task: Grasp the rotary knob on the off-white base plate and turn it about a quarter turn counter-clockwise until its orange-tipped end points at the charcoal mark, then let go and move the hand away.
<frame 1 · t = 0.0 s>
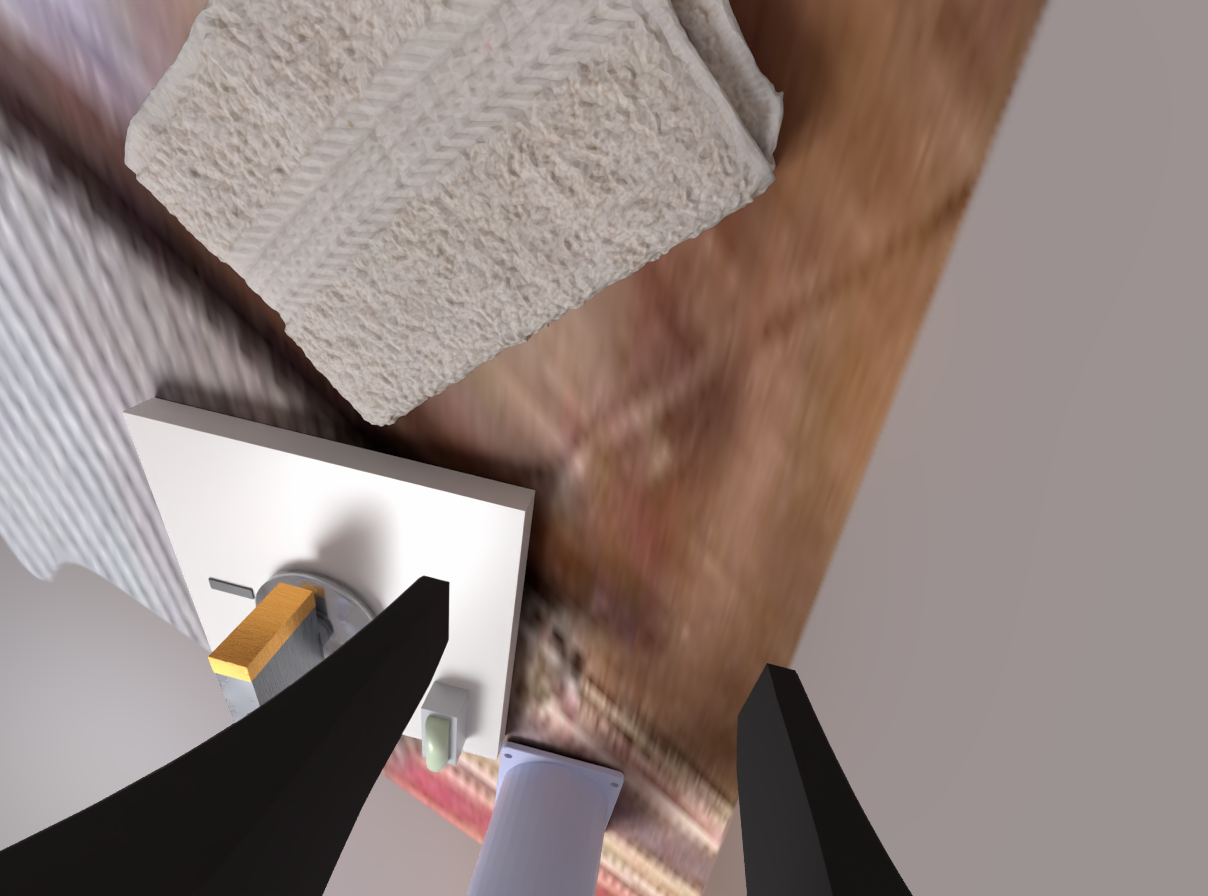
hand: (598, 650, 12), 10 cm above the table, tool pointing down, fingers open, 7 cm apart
base plate: (359, 595, 28), on the table
rotary knob: (286, 657, 24), point 4 cm above the table, hinge at 0.0°
washcloth: (460, 161, 17), on the table
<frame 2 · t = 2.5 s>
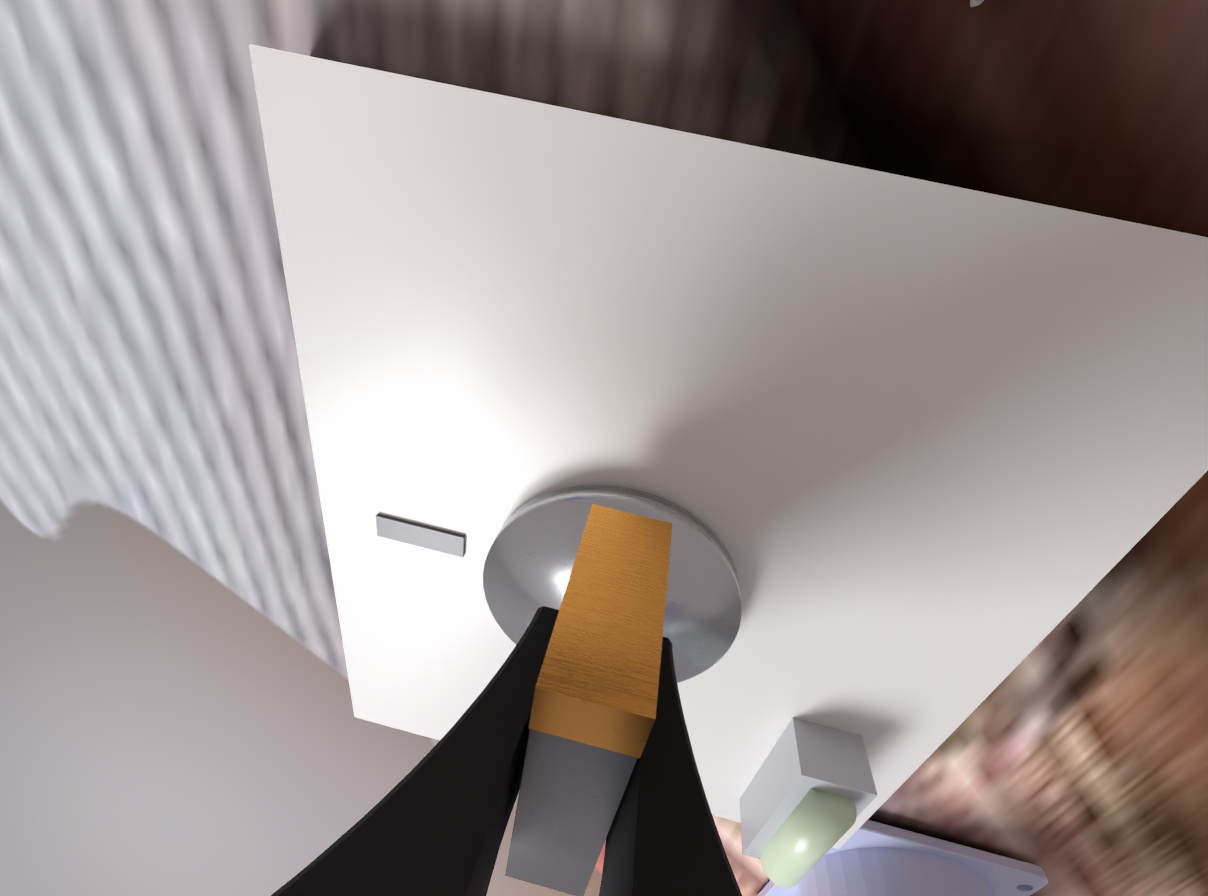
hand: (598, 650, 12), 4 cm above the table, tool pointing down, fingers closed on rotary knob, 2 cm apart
base plate: (654, 552, 15), on the table
rotary knob: (592, 676, 11), point 4 cm above the table, hinge at 0.0°, touching gripper
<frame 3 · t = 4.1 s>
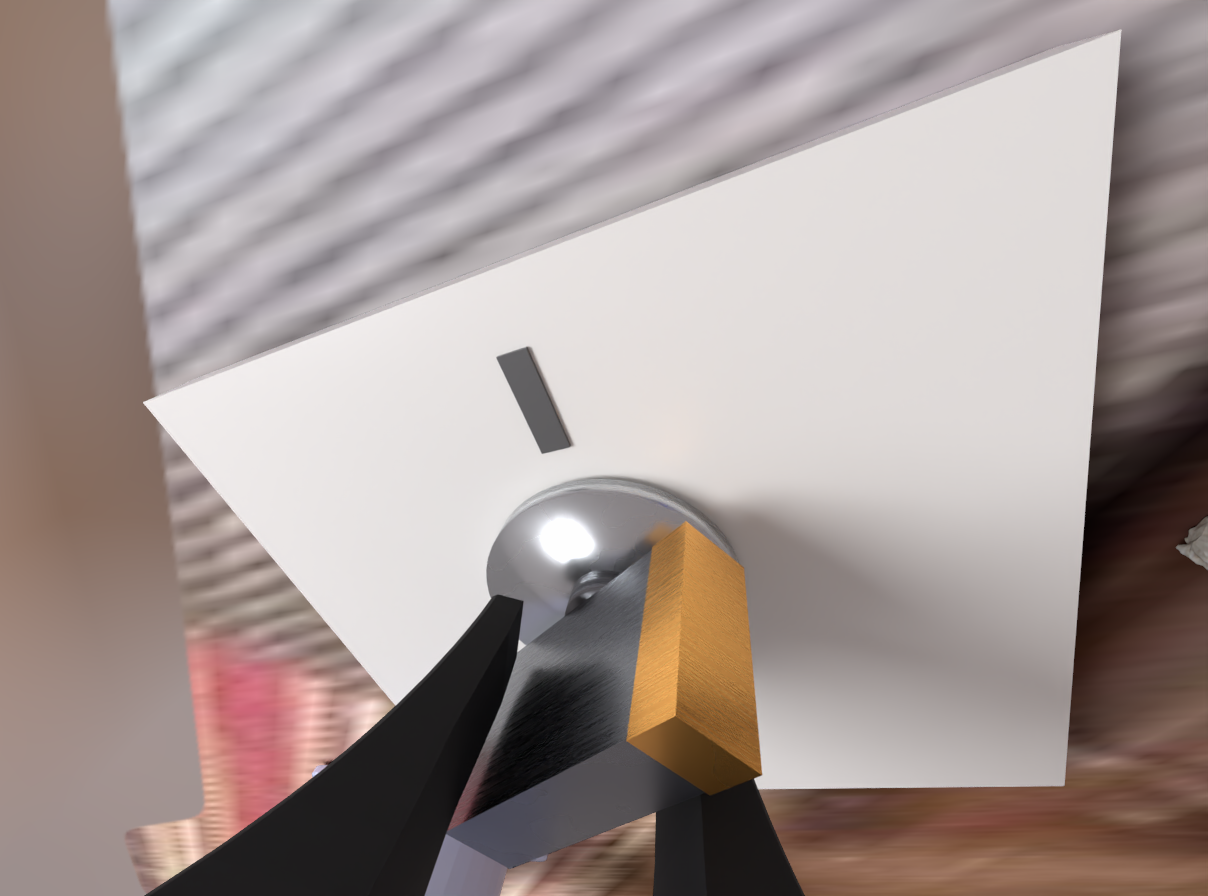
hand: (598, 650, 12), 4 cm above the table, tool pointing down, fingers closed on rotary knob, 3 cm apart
base plate: (634, 565, 15), on the table
rotary knob: (600, 671, 11), point 4 cm above the table, hinge at 30.3°, touching gripper
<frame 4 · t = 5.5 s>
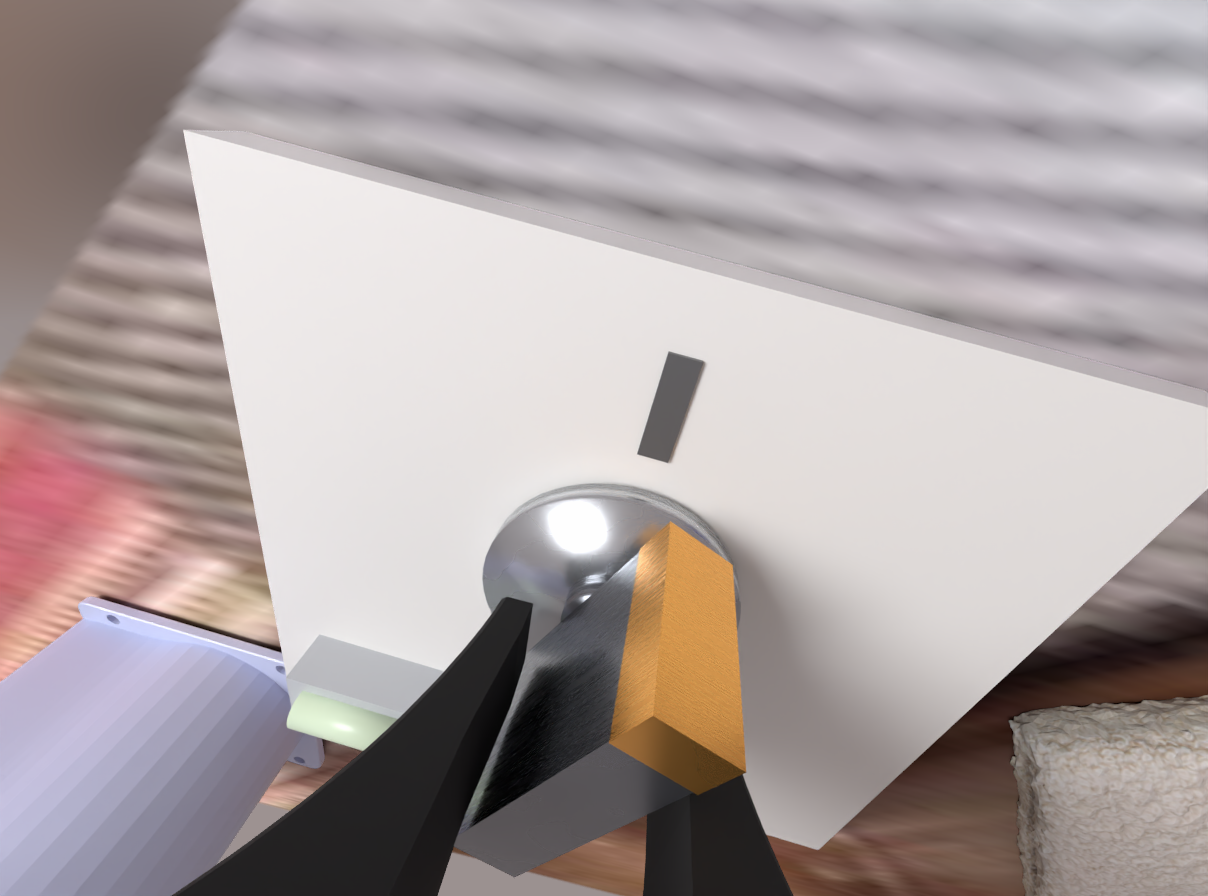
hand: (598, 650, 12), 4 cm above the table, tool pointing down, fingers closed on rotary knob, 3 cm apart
base plate: (612, 567, 15), on the table
rotary knob: (595, 676, 11), point 4 cm above the table, hinge at 66.9°, touching gripper
washcloth: (1198, 829, 18), on the table
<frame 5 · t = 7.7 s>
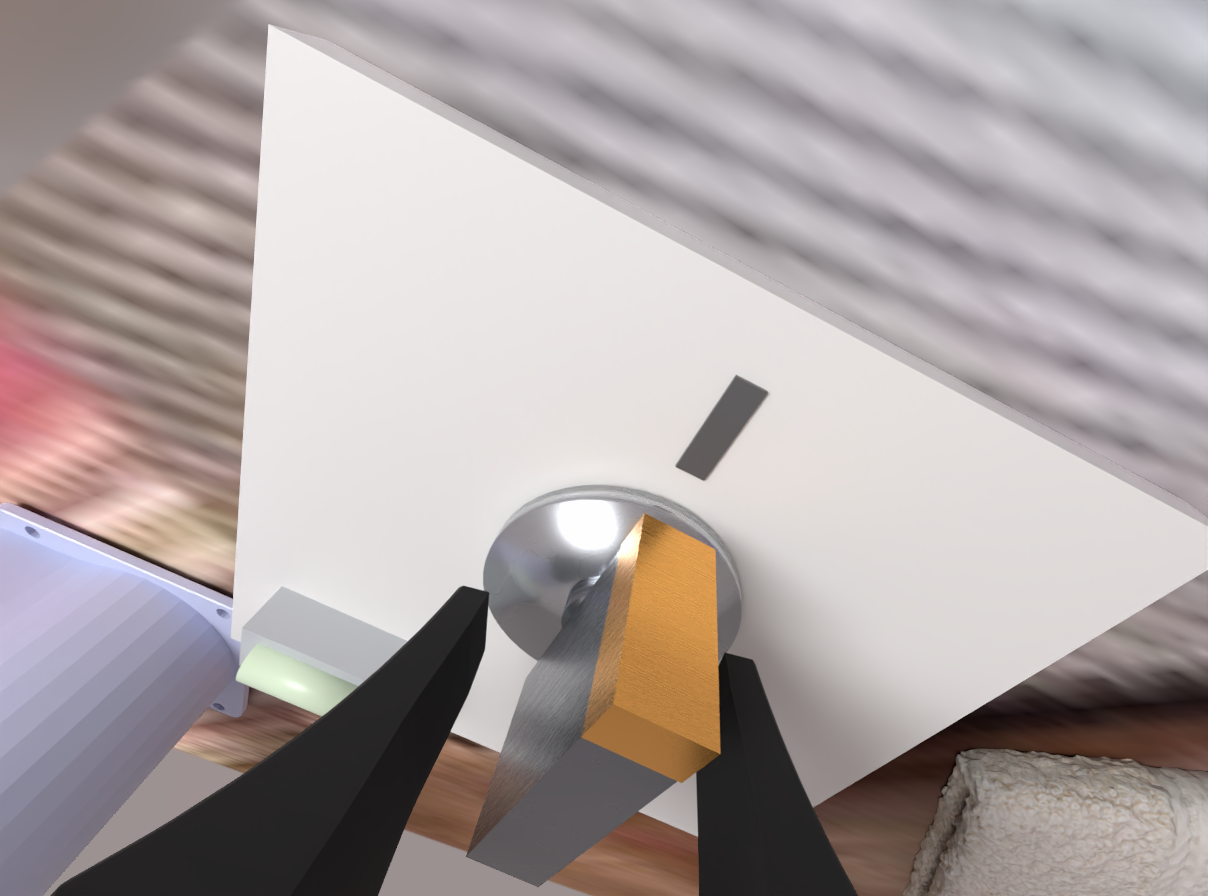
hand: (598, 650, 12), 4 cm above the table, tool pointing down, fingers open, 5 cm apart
base plate: (605, 566, 15), on the table
rotary knob: (594, 677, 11), point 4 cm above the table, hinge at 88.2°
washcloth: (1062, 866, 20), on the table
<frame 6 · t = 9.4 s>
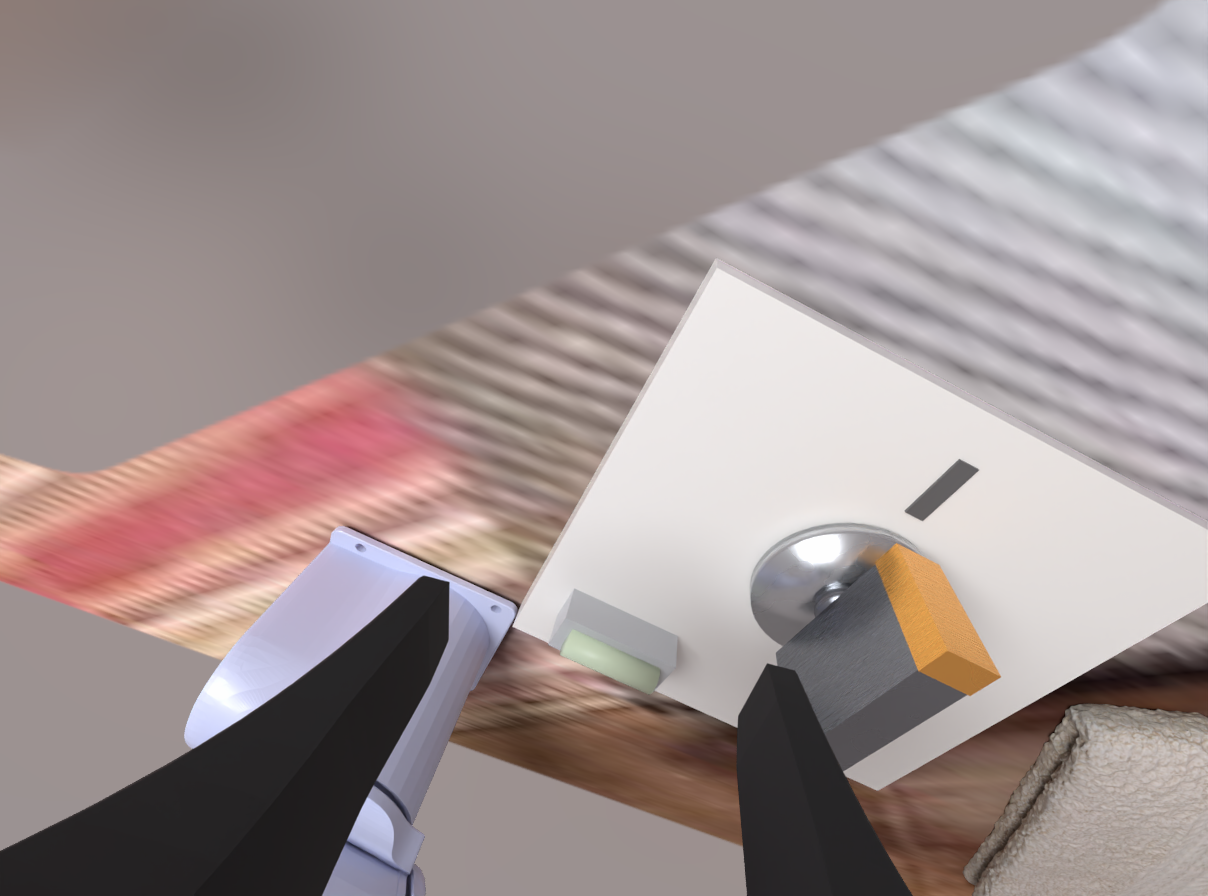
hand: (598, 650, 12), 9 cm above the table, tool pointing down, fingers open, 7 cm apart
base plate: (812, 574, 21), on the table
rotary knob: (858, 647, 17), point 4 cm above the table, hinge at 89.4°
washcloth: (1123, 803, 26), on the table
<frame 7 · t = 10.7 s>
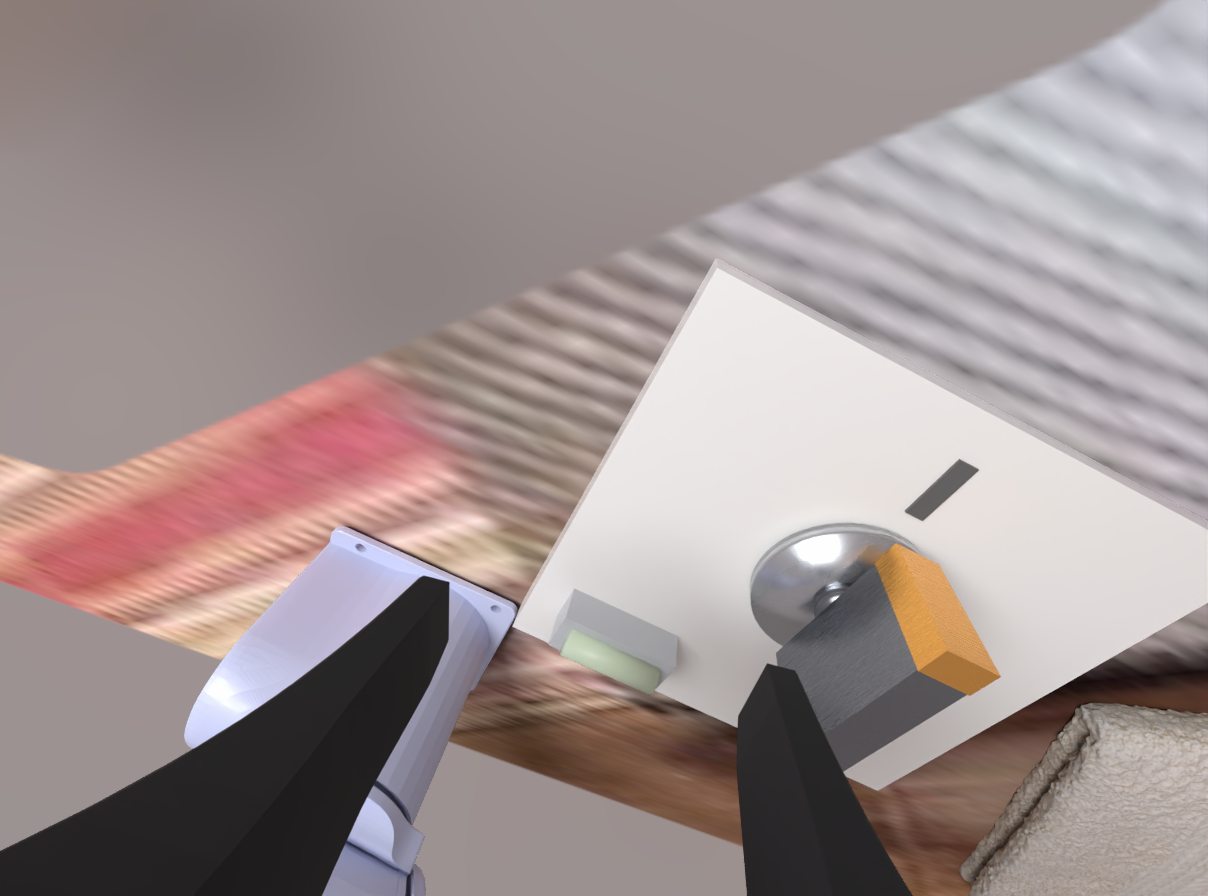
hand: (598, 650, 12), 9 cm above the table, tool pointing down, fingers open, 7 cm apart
base plate: (812, 574, 21), on the table
rotary knob: (858, 647, 17), point 4 cm above the table, hinge at 89.6°
washcloth: (1124, 803, 26), on the table
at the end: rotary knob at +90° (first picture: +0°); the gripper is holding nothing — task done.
